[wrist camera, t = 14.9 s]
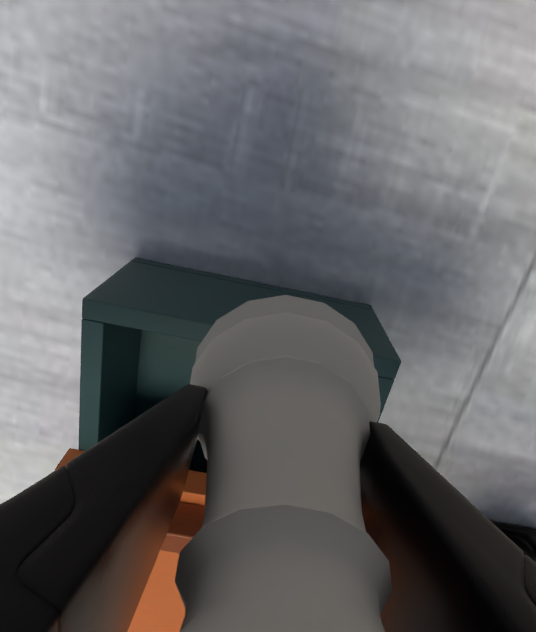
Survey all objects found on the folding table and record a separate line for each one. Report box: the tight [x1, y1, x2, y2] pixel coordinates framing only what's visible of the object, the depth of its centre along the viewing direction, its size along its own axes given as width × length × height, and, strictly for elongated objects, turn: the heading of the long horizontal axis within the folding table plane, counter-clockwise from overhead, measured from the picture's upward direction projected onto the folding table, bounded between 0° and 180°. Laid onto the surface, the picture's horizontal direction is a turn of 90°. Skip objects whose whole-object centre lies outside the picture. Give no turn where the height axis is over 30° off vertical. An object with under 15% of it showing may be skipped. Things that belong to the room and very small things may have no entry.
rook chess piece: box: [174, 295, 392, 632], centre depth 7 cm, size 4×4×8 cm
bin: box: [79, 258, 401, 473], centre depth 21 cm, size 19×12×6 cm, turn 169°
